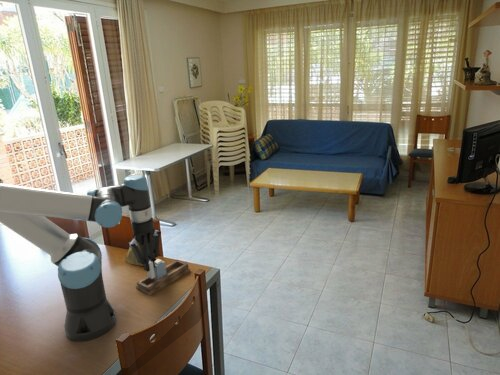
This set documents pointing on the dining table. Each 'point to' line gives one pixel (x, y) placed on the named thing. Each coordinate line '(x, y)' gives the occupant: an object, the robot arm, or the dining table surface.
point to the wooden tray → (173, 273)
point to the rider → (159, 269)
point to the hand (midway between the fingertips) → (151, 276)
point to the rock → (132, 256)
